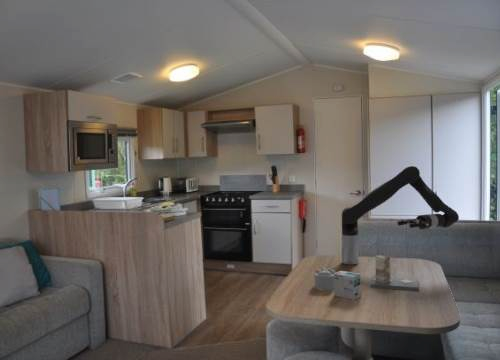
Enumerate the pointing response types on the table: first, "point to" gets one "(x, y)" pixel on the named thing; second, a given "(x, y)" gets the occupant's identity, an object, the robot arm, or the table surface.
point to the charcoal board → (396, 283)
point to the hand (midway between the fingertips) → (404, 224)
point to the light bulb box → (347, 285)
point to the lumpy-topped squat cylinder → (324, 279)
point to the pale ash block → (382, 268)
